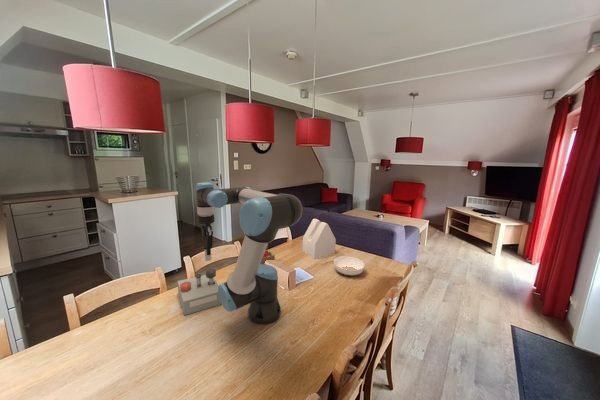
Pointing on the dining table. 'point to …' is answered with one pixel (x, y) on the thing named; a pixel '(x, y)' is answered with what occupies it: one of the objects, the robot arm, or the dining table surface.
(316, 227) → the white house shaped block
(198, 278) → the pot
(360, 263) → the bowl
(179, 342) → the dining table surface
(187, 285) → the knob red
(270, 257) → the brown wooden crate
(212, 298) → the control box
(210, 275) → the knob black
